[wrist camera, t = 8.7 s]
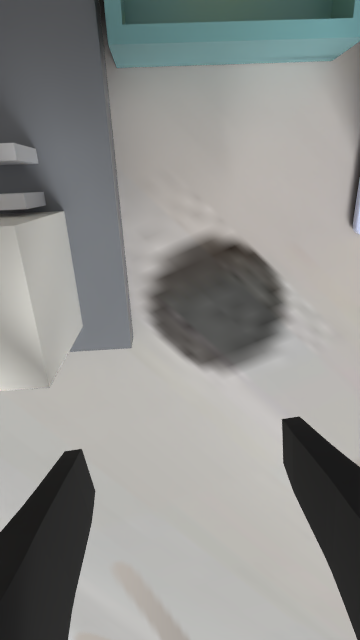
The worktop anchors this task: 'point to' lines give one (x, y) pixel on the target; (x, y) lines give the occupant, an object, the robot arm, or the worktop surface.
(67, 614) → the robot arm
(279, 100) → the worktop surface
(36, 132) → the board
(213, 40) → the tray
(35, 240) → the block
